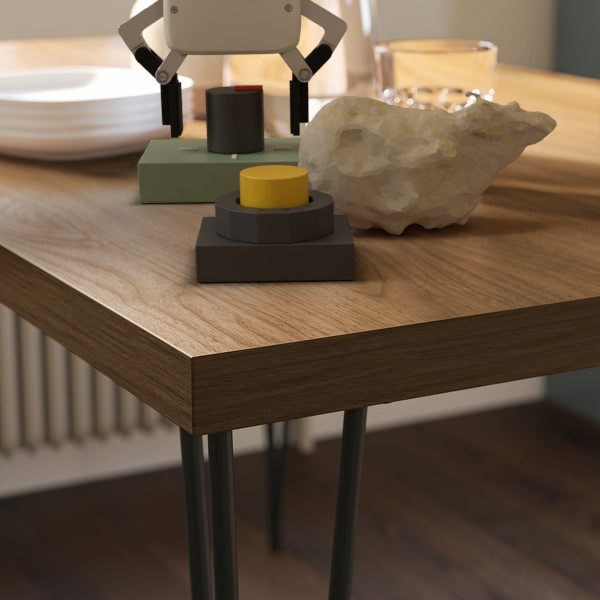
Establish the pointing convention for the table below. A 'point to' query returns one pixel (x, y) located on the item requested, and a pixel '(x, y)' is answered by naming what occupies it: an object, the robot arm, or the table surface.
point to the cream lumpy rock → (413, 158)
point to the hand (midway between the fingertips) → (236, 133)
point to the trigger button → (274, 186)
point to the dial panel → (202, 168)
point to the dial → (235, 119)
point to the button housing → (275, 242)
